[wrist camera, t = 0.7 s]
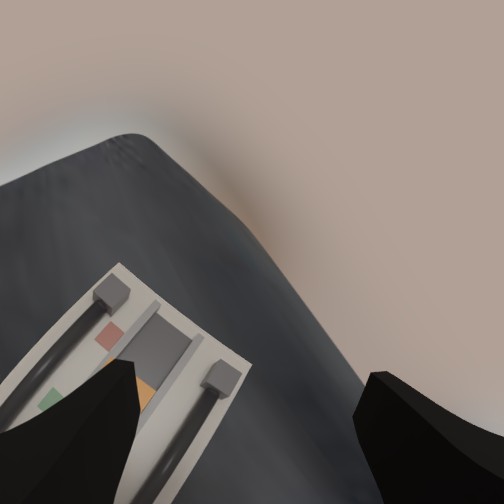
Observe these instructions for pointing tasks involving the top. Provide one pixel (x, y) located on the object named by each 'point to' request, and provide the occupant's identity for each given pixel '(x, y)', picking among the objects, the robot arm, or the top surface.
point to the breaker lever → (141, 390)
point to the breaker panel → (146, 368)
